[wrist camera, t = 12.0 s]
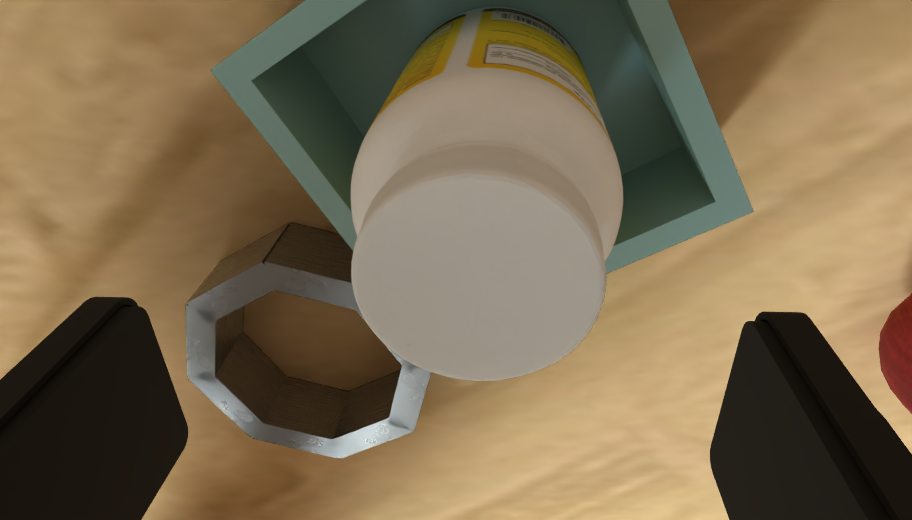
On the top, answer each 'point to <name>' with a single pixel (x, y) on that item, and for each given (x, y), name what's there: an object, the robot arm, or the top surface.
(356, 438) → the socket collar
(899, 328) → the onion
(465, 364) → the pill bottle
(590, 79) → the bin
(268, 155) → the top surface
